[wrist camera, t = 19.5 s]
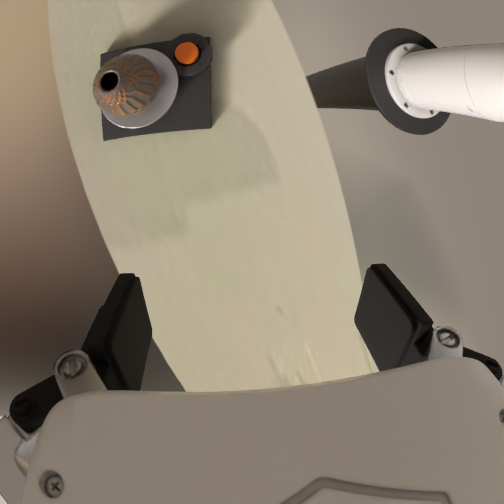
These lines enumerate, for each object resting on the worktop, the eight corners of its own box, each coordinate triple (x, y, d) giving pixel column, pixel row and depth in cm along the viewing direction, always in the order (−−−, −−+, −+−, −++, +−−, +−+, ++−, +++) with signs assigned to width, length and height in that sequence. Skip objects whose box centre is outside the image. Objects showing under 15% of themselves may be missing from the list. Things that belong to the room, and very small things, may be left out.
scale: (212, 37, 27) (211, 31, 25) (213, 127, 33) (212, 128, 31) (104, 54, 26) (95, 50, 24) (107, 139, 32) (98, 142, 29)
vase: (162, 53, 25) (142, 35, 17) (168, 108, 28) (150, 107, 21) (106, 69, 25) (72, 60, 17) (113, 122, 28) (80, 127, 20)
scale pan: (178, 43, 25) (178, 42, 25) (180, 122, 30) (179, 123, 29) (99, 58, 24) (97, 57, 24) (101, 134, 29) (99, 134, 28)
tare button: (199, 43, 26) (198, 40, 24) (199, 63, 27) (198, 61, 26) (176, 46, 25) (174, 43, 24) (176, 65, 27) (174, 63, 25)
